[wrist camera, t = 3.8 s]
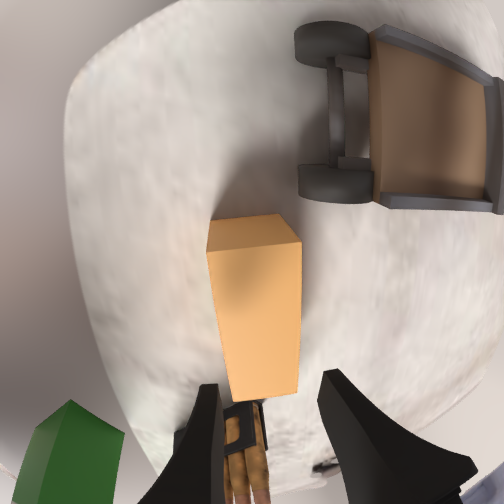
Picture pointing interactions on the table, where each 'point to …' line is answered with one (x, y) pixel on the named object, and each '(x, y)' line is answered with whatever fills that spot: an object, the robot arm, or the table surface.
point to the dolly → (407, 123)
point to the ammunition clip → (243, 453)
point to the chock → (257, 303)
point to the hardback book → (70, 460)
